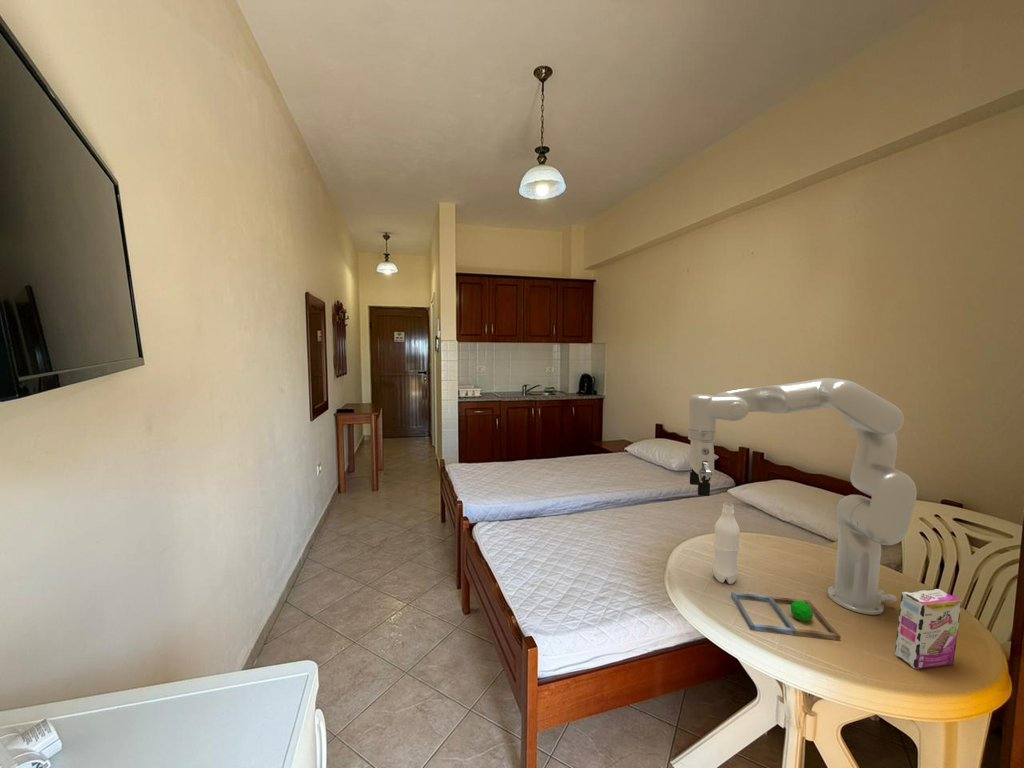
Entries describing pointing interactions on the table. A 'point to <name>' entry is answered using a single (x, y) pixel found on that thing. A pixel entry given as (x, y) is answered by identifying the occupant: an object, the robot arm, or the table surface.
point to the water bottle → (726, 545)
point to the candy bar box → (927, 628)
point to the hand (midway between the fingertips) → (699, 489)
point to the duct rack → (784, 617)
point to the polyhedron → (801, 610)
